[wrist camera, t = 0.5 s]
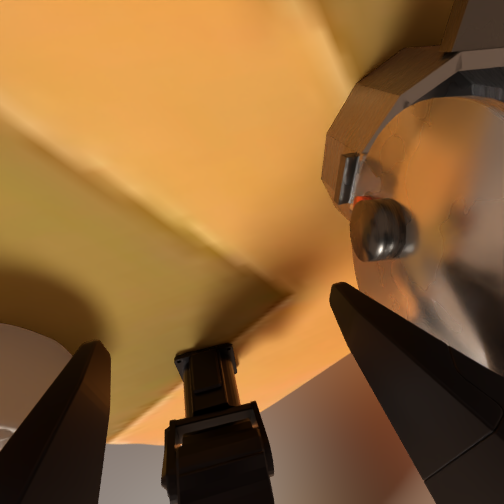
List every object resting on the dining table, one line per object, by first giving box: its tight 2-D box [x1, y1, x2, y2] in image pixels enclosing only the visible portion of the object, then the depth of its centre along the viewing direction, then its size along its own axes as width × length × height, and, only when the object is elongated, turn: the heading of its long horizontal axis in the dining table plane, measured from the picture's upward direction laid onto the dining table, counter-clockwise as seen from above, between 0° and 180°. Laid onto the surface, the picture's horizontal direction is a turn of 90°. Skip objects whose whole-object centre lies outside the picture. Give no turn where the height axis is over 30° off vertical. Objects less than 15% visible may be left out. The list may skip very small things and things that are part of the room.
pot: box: [321, 0, 504, 221], centre depth 19 cm, size 17×13×4 cm
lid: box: [349, 95, 504, 376], centre depth 11 cm, size 12×11×2 cm
